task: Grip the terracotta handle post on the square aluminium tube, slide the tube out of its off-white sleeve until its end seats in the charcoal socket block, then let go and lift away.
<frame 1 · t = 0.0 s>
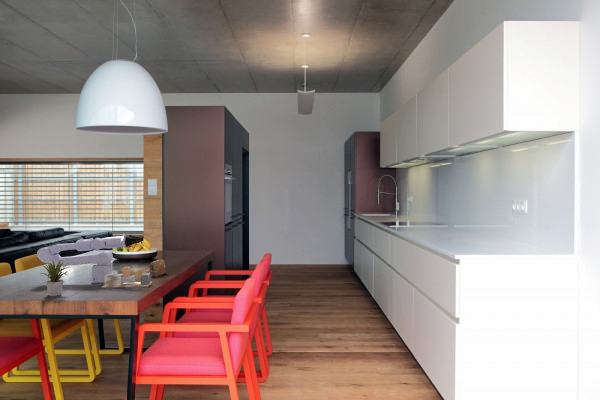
hand: (141, 239, 249), 22 cm above the table, tool horizontal, fingers open, 7 cm apart
tube stand: (122, 285, 236), on the table
slip tube: (120, 274, 236), point 5 cm above the table, slide at 0.0 cm
house plant: (55, 295, 213), on the table
tin: (157, 275, 268), on the table
socket: (145, 284, 238), resting on tube stand
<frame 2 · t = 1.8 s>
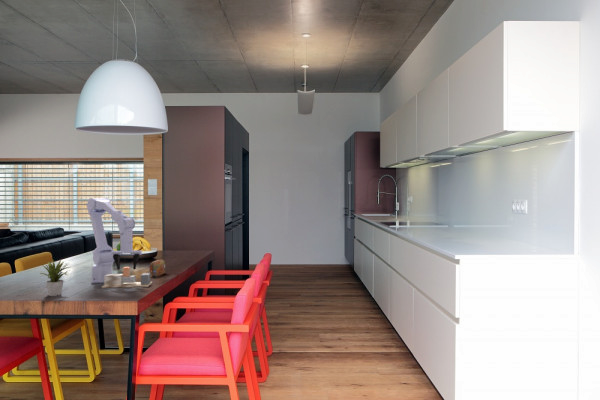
hand: (126, 269, 237), 8 cm above the table, tool pointing down, fingers open, 7 cm apart
nothing on the table moved.
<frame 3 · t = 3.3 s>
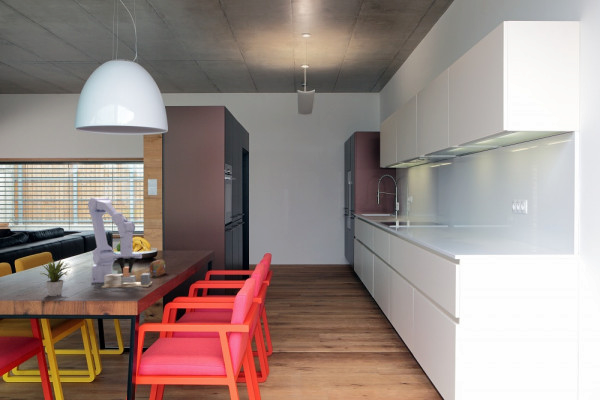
hand: (126, 272, 237), 6 cm above the table, tool pointing down, fingers closed on slip tube, 3 cm apart
slip tube: (120, 274, 236), point 5 cm above the table, slide at 0.0 cm, touching gripper
everything else where it was.
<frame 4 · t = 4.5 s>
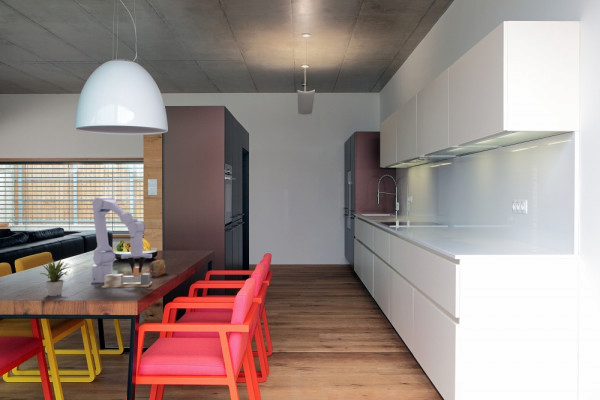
hand: (136, 272, 237), 6 cm above the table, tool pointing down, fingers closed on slip tube, 3 cm apart
slip tube: (130, 274, 237), point 5 cm above the table, slide at 4.9 cm, touching gripper
everything else where it was.
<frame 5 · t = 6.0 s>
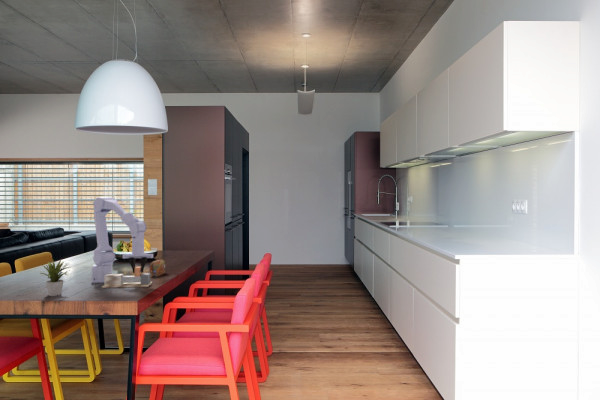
hand: (138, 272, 237), 6 cm above the table, tool pointing down, fingers open, 3 cm apart
slip tube: (131, 274, 237), point 5 cm above the table, slide at 5.5 cm
everything else where it was.
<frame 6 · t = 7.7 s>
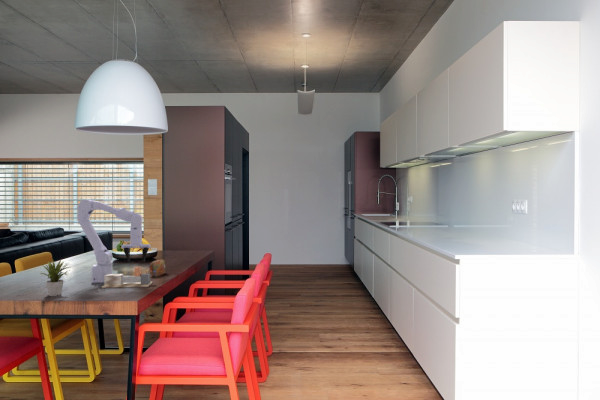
hand: (136, 262, 250), 10 cm above the table, tool pointing down, fingers open, 7 cm apart
nothing on the table moved.
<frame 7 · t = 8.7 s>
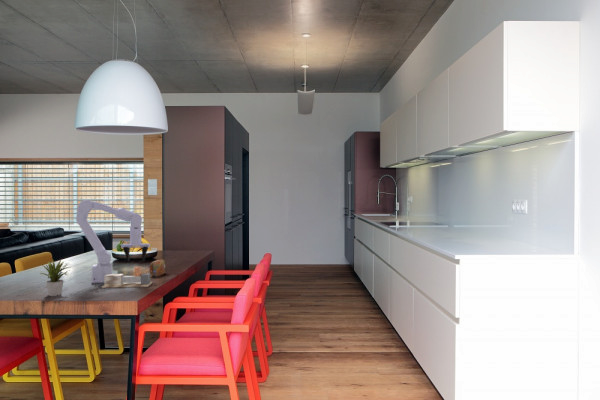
hand: (135, 261, 253), 10 cm above the table, tool pointing down, fingers open, 7 cm apart
nothing on the table moved.
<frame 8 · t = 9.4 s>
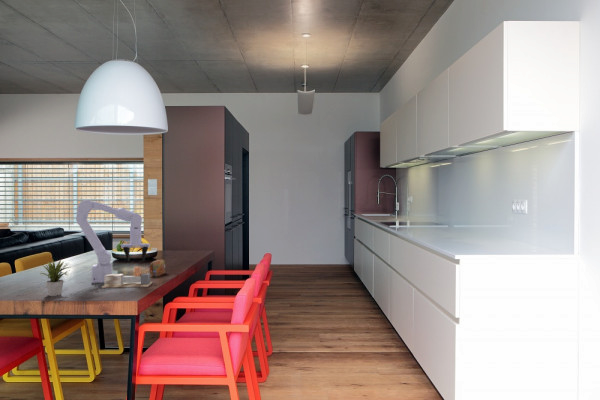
hand: (135, 261, 253), 10 cm above the table, tool pointing down, fingers open, 7 cm apart
nothing on the table moved.
at the end: slip tube slide at 5.5 cm; the gripper is holding nothing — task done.
